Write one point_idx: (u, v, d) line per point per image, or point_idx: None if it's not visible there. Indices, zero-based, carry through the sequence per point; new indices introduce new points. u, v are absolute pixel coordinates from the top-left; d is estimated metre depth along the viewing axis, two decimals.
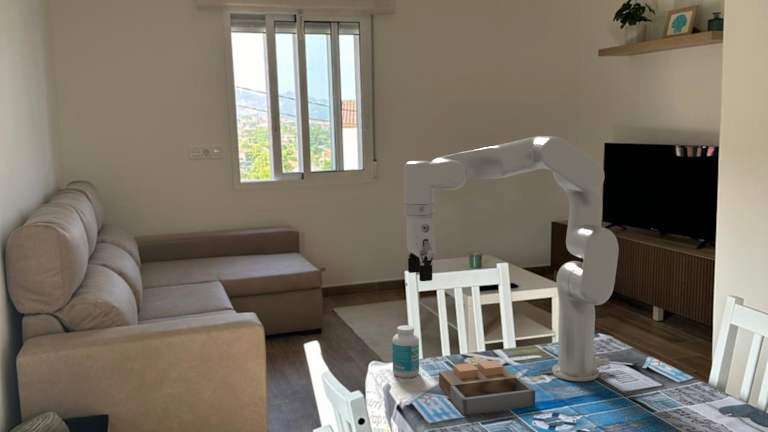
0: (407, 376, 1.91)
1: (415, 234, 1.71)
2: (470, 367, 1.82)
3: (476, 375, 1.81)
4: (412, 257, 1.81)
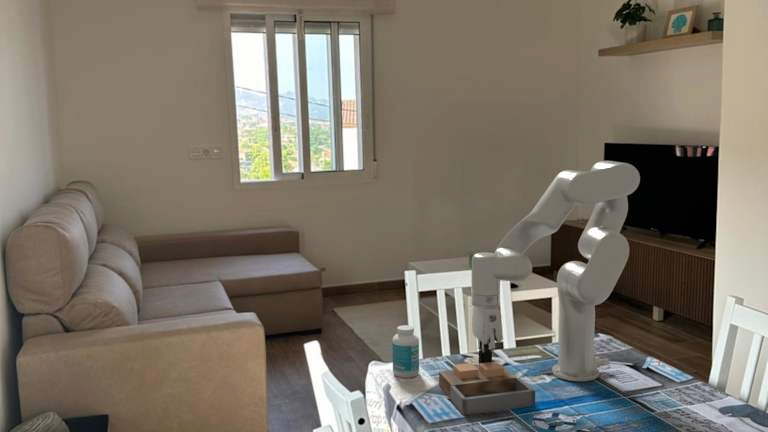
0: (407, 376, 1.91)
1: (482, 323, 1.82)
2: (470, 367, 1.82)
3: (476, 375, 1.81)
4: None
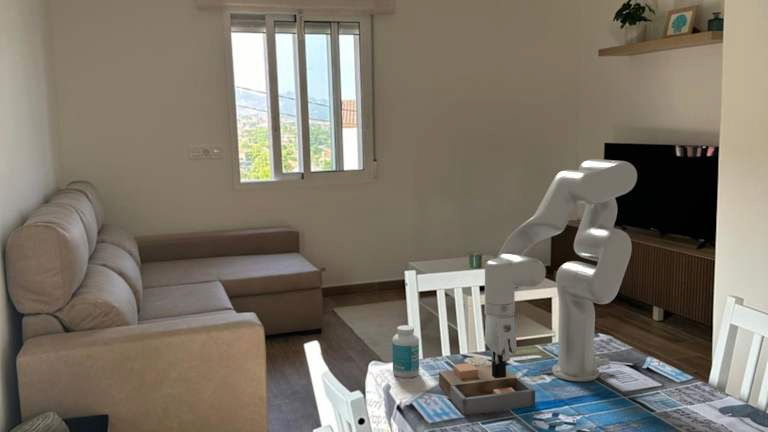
0: (407, 376, 1.91)
1: (496, 334, 1.73)
2: (470, 367, 1.82)
3: (476, 375, 1.81)
4: None
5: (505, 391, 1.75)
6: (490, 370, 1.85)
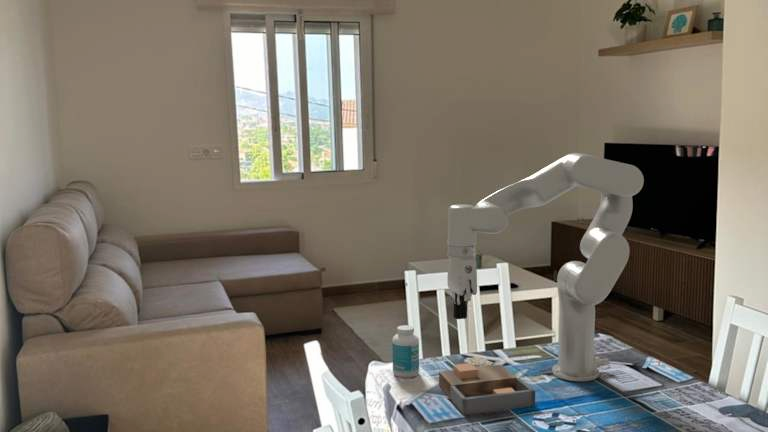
0: (407, 376, 1.91)
1: (458, 275, 1.81)
2: (470, 367, 1.82)
3: (476, 375, 1.81)
4: None
5: (505, 391, 1.75)
6: (490, 370, 1.85)
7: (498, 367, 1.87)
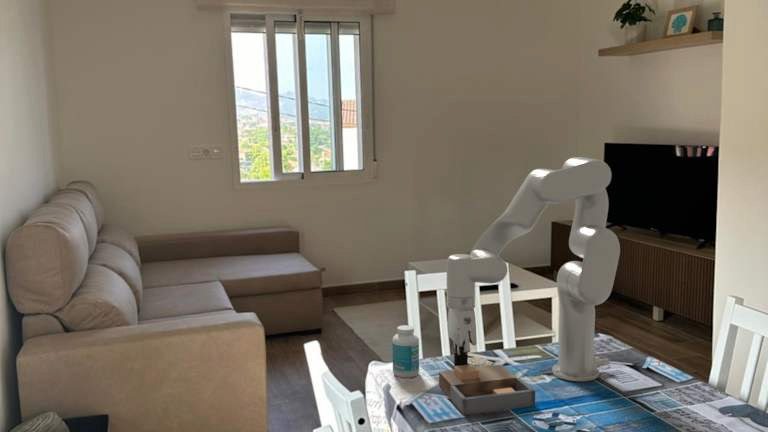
0: (407, 376, 1.91)
1: (457, 326, 1.80)
2: (470, 369, 1.81)
3: (477, 377, 1.80)
4: None
5: (505, 391, 1.75)
6: (490, 370, 1.85)
7: (498, 367, 1.87)
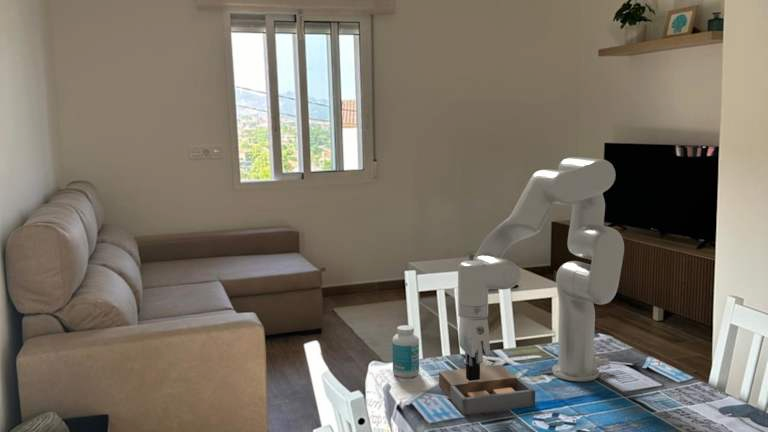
0: (407, 376, 1.91)
1: (469, 336, 1.72)
2: None
3: None
4: None
5: (505, 391, 1.75)
6: (490, 370, 1.85)
7: (498, 367, 1.87)
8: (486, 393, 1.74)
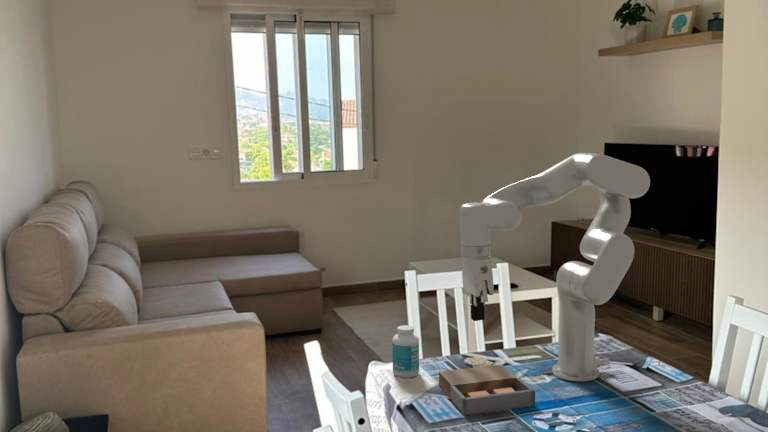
0: (407, 376, 1.91)
1: (474, 276, 1.75)
2: None
3: None
4: None
5: (505, 391, 1.75)
6: (490, 370, 1.85)
7: (498, 367, 1.87)
8: (486, 393, 1.74)
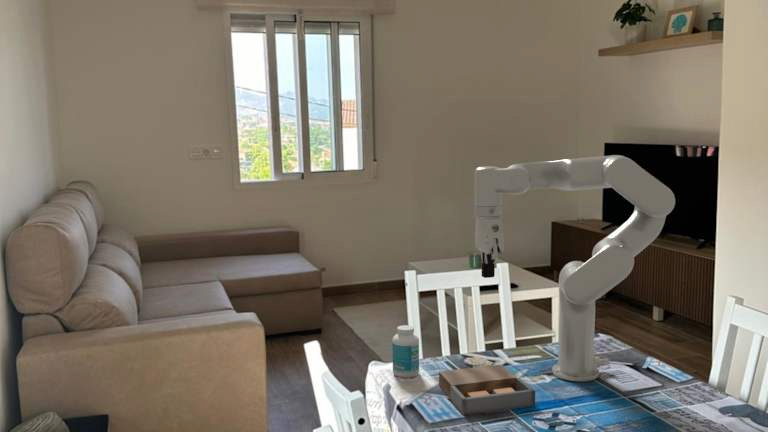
0: (407, 376, 1.91)
1: (485, 234, 1.87)
2: None
3: None
4: None
5: (505, 391, 1.75)
6: (490, 370, 1.85)
7: (498, 367, 1.87)
8: (486, 393, 1.74)
